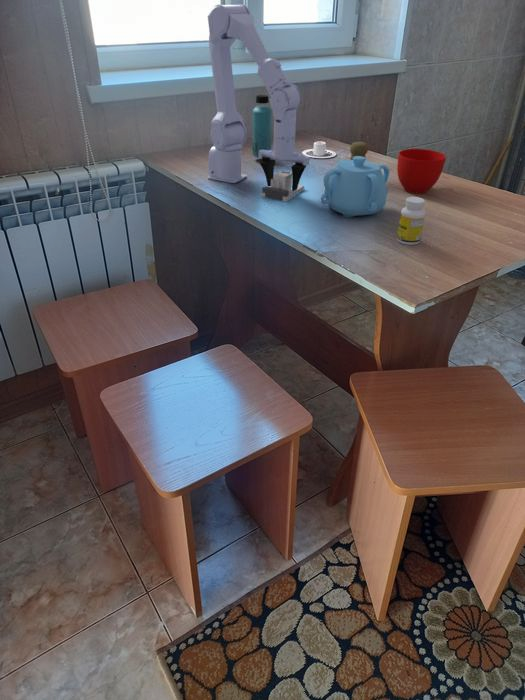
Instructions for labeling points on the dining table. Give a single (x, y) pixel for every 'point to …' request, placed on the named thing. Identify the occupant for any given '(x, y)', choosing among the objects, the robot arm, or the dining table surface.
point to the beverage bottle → (261, 126)
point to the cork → (358, 149)
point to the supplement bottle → (411, 221)
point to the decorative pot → (356, 187)
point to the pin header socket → (279, 191)
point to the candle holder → (319, 150)
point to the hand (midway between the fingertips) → (282, 187)
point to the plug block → (283, 177)
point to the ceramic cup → (419, 169)
